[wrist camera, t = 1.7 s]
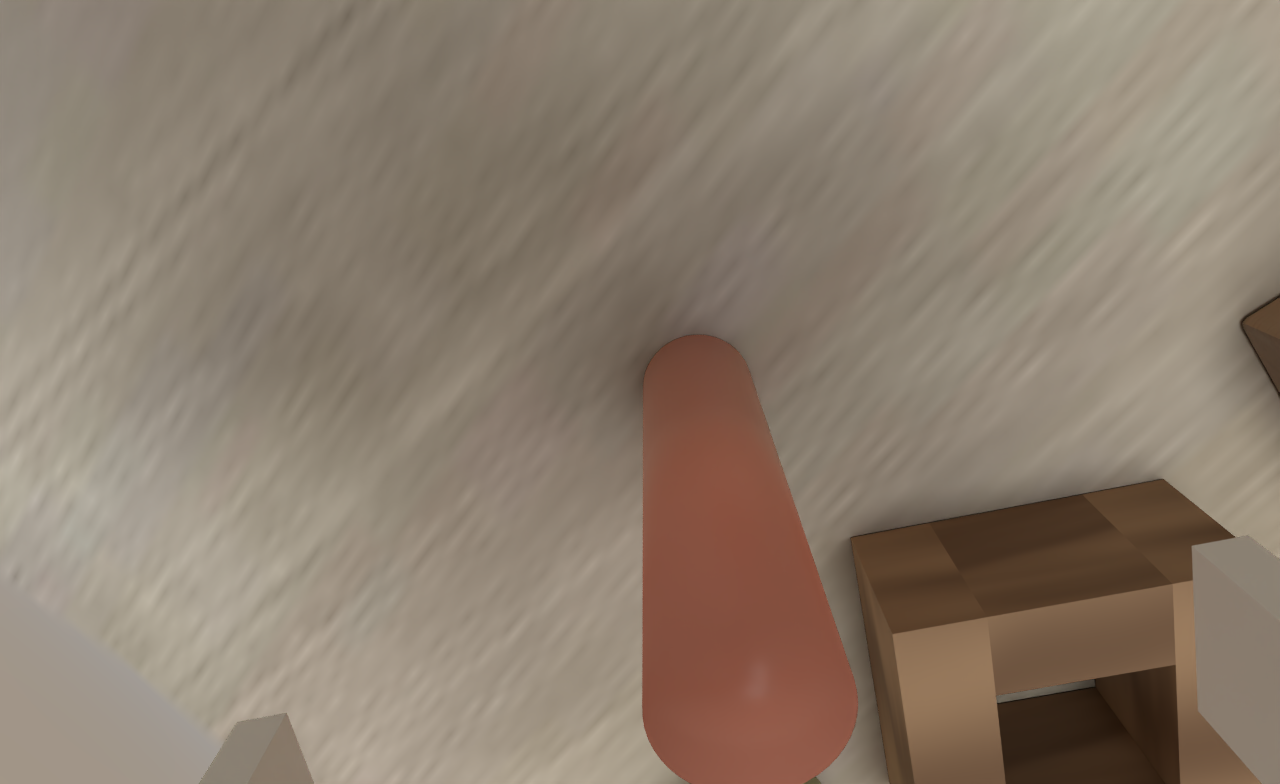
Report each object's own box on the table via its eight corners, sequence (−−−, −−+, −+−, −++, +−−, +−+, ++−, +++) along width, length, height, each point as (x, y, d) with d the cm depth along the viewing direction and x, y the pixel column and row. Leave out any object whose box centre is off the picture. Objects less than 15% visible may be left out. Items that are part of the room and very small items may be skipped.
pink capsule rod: (633, 346, 26) (620, 637, 13) (741, 324, 26) (841, 597, 13) (655, 446, 27) (666, 811, 14) (760, 426, 27) (871, 777, 14)
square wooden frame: (850, 537, 28) (892, 634, 23) (1163, 479, 27) (1271, 566, 23) (889, 782, 31) (933, 912, 26) (1173, 734, 30) (1271, 859, 26)
